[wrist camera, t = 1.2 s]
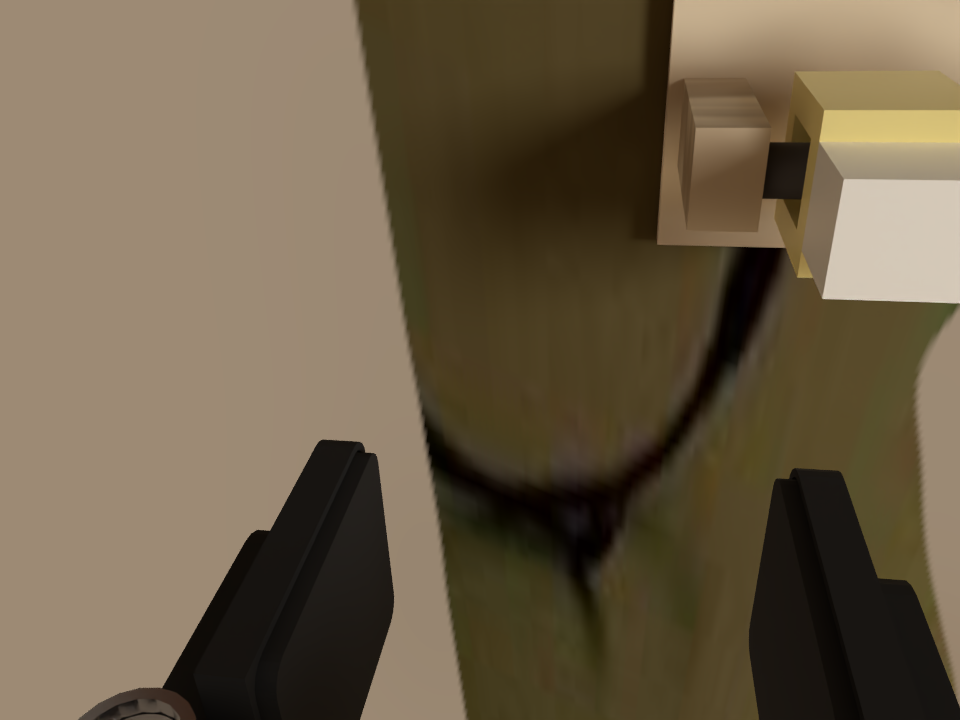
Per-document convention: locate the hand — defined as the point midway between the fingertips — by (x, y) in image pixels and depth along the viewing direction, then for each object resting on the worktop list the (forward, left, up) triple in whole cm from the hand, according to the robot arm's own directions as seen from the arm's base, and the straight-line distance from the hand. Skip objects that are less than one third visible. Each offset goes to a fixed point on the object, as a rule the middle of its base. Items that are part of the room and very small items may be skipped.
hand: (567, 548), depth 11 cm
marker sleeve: (0, +7, -19) cm, 20 cm away
